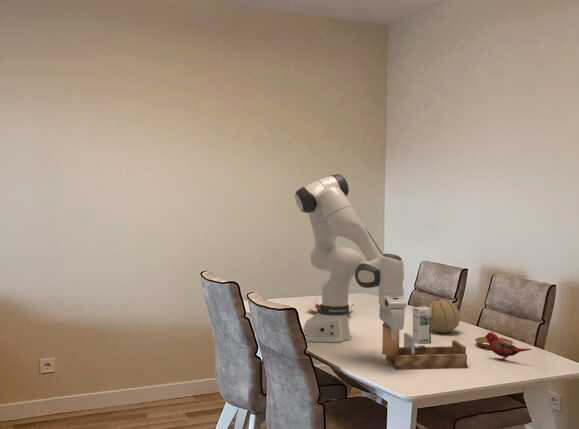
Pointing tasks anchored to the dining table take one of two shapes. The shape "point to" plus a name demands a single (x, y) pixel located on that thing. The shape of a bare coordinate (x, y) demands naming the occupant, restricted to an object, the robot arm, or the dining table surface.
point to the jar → (389, 342)
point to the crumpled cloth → (319, 301)
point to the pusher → (410, 345)
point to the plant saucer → (484, 340)
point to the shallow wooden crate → (432, 358)
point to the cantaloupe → (444, 316)
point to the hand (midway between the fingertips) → (390, 337)
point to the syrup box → (422, 324)
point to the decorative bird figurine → (502, 347)
